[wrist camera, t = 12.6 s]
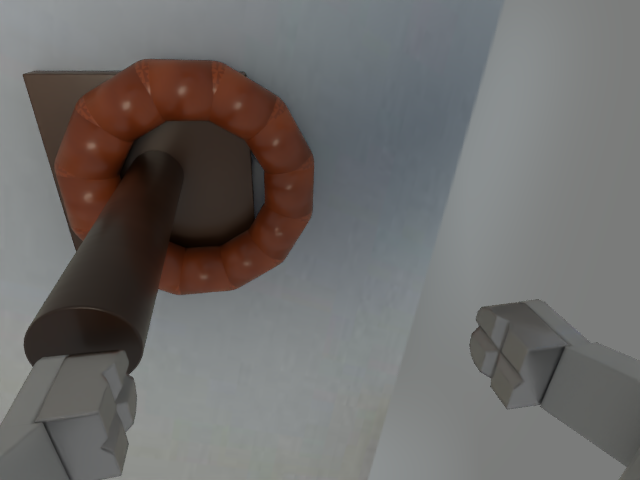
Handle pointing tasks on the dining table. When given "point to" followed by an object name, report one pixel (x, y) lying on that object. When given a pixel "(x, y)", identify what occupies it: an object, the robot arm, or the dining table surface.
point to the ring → (191, 105)
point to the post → (135, 222)
